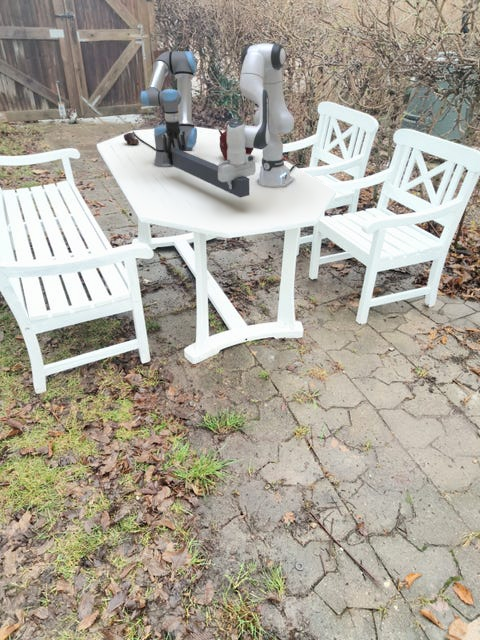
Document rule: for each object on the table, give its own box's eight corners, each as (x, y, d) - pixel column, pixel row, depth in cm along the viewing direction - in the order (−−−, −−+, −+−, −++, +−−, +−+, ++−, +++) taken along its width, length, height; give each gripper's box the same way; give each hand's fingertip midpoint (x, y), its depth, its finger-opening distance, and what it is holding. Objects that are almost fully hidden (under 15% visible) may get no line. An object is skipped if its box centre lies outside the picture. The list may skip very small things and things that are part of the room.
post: (166, 162, 265) (165, 148, 260) (174, 161, 268) (173, 146, 263) (240, 197, 216) (240, 180, 211) (249, 195, 219) (249, 178, 214)
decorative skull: (216, 132, 305) (216, 129, 282) (250, 124, 304) (252, 121, 281) (223, 164, 312) (223, 164, 288) (256, 157, 311) (259, 156, 288)
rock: (136, 143, 344) (123, 145, 340) (134, 131, 341) (121, 132, 336) (140, 144, 335) (127, 145, 331) (138, 132, 331) (125, 133, 327)
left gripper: (159, 124, 242) (164, 167, 255) (190, 119, 250) (193, 162, 263) (153, 121, 247) (158, 164, 260) (184, 117, 255) (187, 159, 268)
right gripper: (221, 163, 205) (223, 193, 213) (257, 156, 214) (257, 184, 222) (214, 160, 209) (215, 189, 217) (249, 153, 219) (249, 181, 227)
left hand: (175, 163), depth 262 cm, fingers closed on post, 6 cm apart
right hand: (237, 187), depth 220 cm, fingers closed on post, 5 cm apart
